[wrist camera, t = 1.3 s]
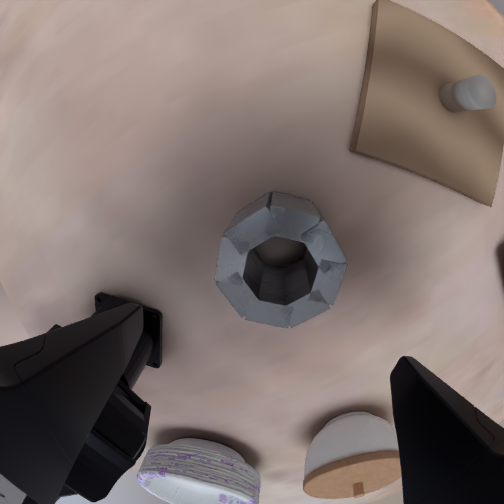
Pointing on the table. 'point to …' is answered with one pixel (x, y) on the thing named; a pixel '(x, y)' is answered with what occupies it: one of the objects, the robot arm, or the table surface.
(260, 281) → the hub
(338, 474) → the lidded jar
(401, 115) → the block
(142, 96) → the table surface
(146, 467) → the paper bowls
